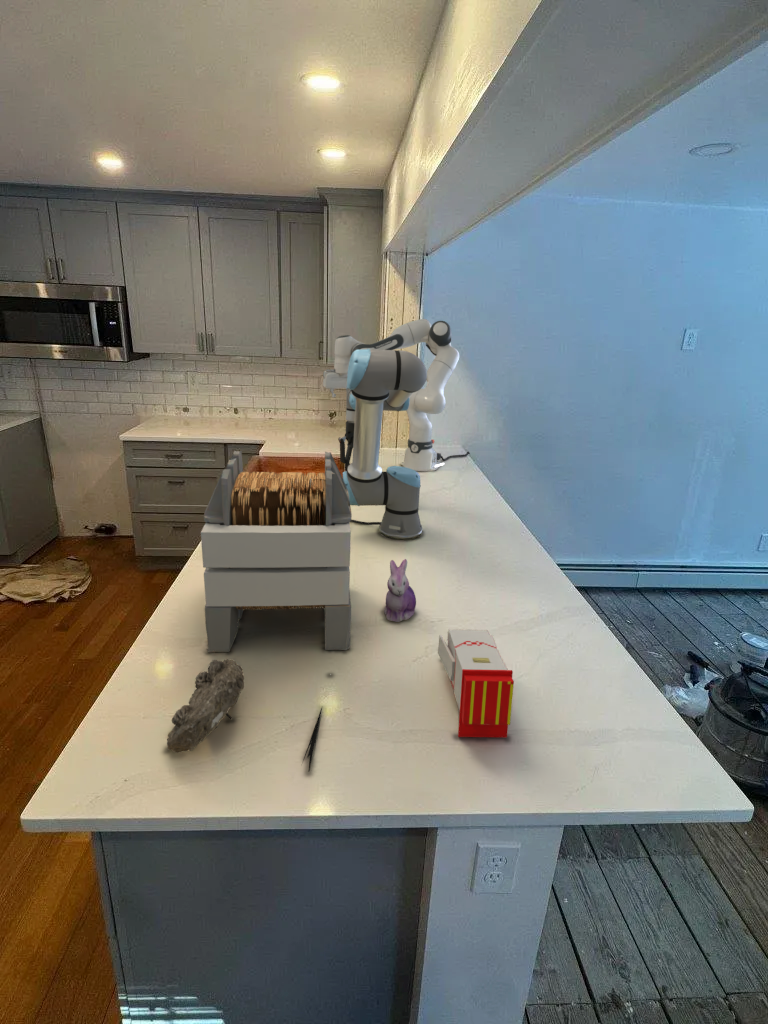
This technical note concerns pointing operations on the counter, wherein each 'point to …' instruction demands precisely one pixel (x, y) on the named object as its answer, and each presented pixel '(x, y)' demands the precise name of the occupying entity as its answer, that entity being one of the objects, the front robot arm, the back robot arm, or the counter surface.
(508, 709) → the toy
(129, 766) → the counter surface
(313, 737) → the feather
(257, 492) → the record storage crate
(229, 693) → the fossil
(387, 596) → the figurine
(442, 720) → the counter surface
